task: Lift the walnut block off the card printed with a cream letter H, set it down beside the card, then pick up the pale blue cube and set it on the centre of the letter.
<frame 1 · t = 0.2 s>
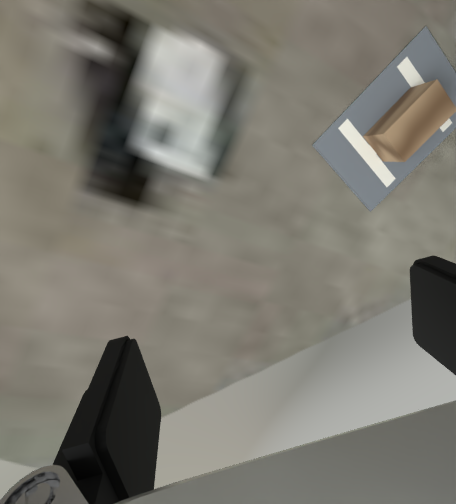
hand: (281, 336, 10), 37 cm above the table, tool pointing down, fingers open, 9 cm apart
walnut block: (396, 125, 46), resting on letter card
letter card: (395, 125, 46), on the table
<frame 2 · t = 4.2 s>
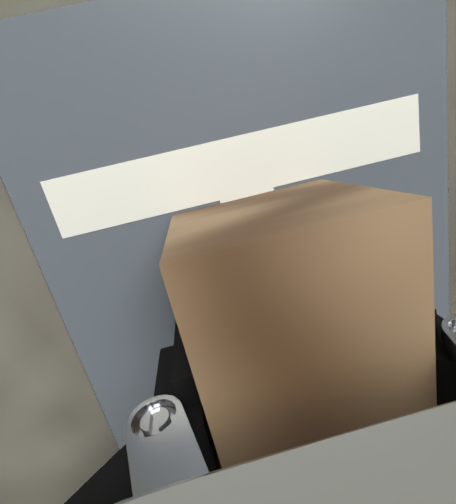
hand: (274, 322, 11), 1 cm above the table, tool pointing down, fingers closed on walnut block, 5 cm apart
walnut block: (271, 316, 12), resting on letter card, touching gripper
letter card: (270, 314, 12), on the table
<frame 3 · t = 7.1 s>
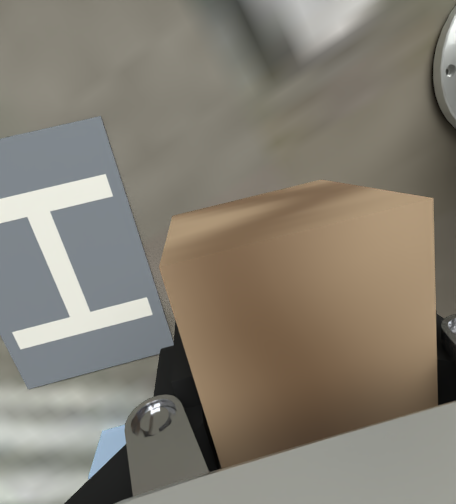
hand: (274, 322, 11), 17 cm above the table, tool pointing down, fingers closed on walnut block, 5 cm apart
blue cube: (134, 441, 33), on the table
walnut block: (272, 317, 12), point 17 cm above the table, touching gripper
letter card: (61, 266, 27), on the table
when the fingers open (2 cm above the table, at t = 10.3 s): walnut block drops 2 cm, on the table.
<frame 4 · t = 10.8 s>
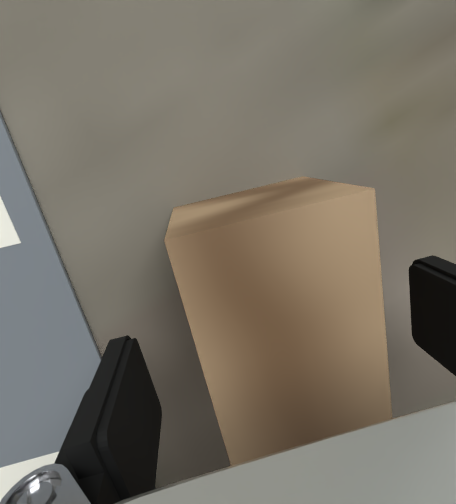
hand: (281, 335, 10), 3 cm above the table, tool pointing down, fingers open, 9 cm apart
walnut block: (260, 296, 13), on the table
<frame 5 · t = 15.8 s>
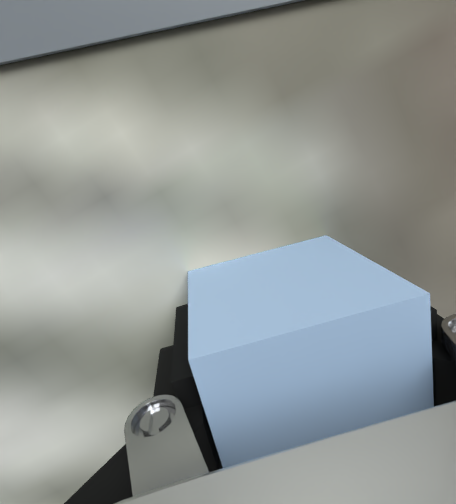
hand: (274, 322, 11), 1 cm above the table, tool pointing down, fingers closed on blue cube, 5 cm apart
blue cube: (271, 315, 12), on the table, touching gripper
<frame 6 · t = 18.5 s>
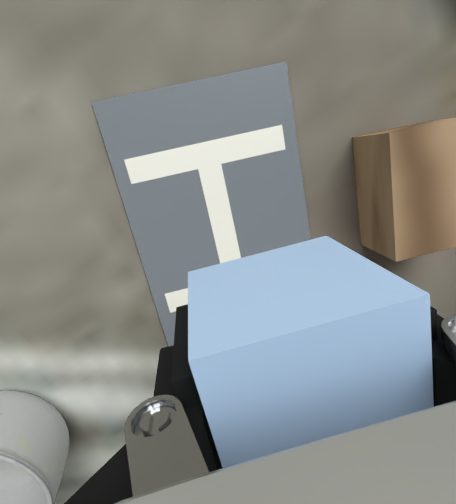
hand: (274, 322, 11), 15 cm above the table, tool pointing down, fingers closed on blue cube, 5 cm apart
blue cube: (271, 315, 12), point 15 cm above the table, touching gripper
teacup: (8, 430, 29), on the table
walnut block: (383, 187, 27), on the table
letter card: (222, 224, 26), on the table
when the fingers open (2 cm above the table, at t = 21.6 s): blue cube drops 1 cm, resting on letter card.
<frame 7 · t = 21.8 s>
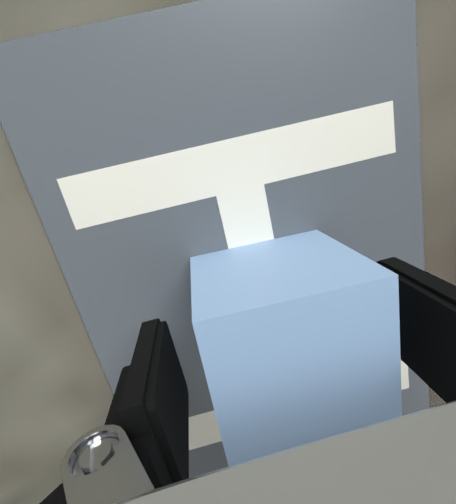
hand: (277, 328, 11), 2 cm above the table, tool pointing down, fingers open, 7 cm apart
blue cube: (264, 301, 13), resting on letter card
letter card: (262, 299, 13), on the table
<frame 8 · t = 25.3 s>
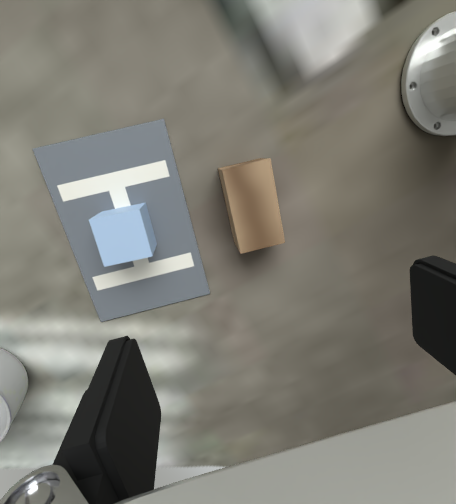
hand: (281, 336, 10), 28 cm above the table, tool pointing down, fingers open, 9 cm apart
blue cube: (130, 228, 37), resting on letter card
walnut block: (246, 201, 38), on the table
letter card: (130, 227, 37), on the table
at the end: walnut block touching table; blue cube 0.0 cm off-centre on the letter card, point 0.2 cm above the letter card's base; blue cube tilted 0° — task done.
